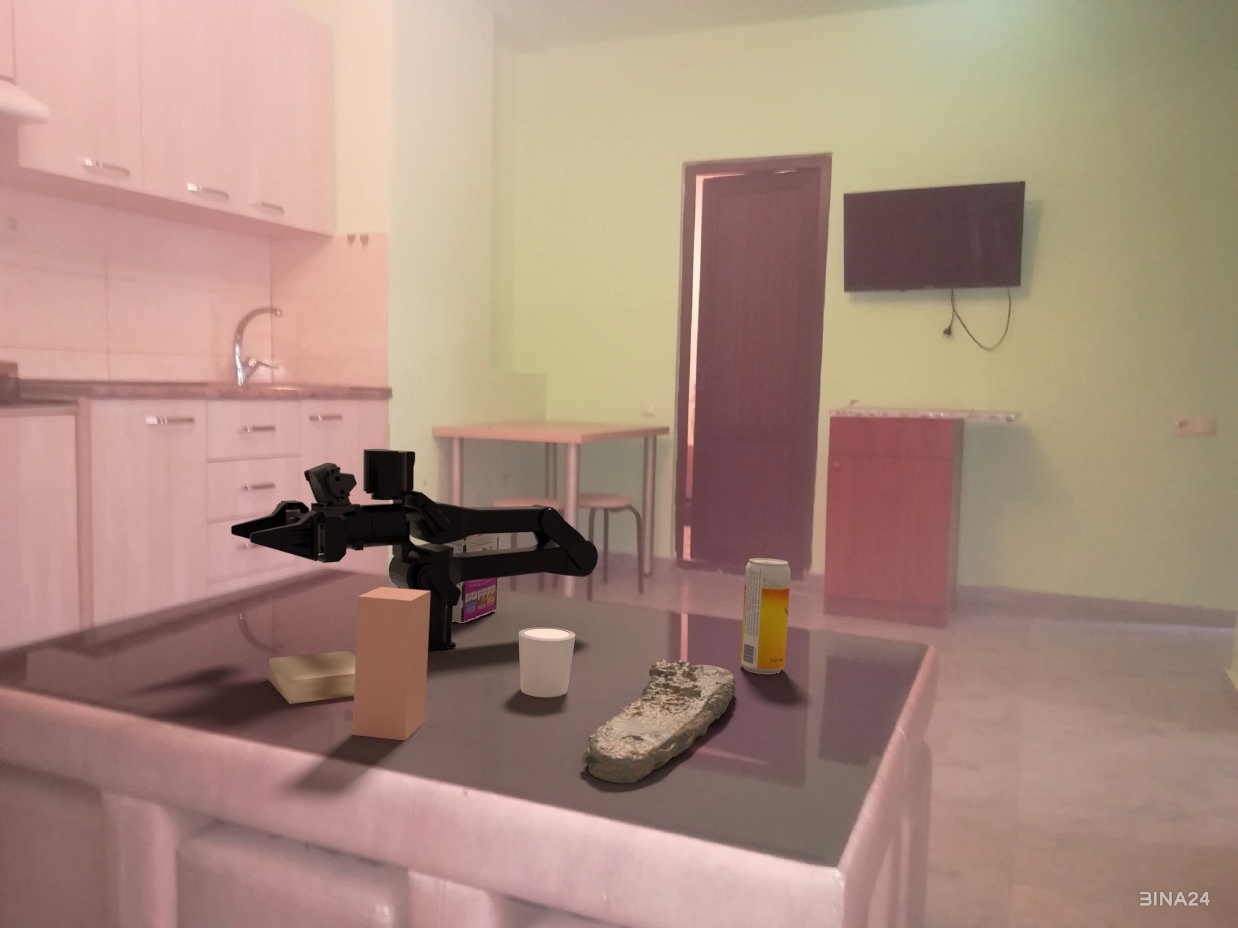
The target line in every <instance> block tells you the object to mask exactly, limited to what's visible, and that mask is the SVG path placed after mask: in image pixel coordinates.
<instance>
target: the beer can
mask: <svg viewBox="0 0 1238 928" xmlns="http://www.w3.org/2000/svg"><path fill="white" fill-rule="evenodd" d="M748 560H749V561H748V562H747V564H746V566H745V573H744V575H745V576H744V589H743V591H744V593H743V609H742V621H741V623H742V624H741V625H742V626H741V637H740V638H741V643H740V656H739V657H740V658H739V662H740V664H741V665H742V666H743V669H744V670H745V671H747V672H750V673H753V674H758V675H777V674H779V673H781V670H782V669H783V668H784V667H786V651H787V635H788V622H789V621H788V618H789V605H790V604H789V602H790V588H791V572H792V571H791V568H790V565H789V562H788V561H786V560H783V559H777V558H770V557H769V558H767V557H766V558H765V557H753V558H749V559H748ZM776 673H777V674H776Z"/></svg>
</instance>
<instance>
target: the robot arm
mask: <svg viewBox="0 0 1238 928" xmlns="http://www.w3.org/2000/svg"><path fill="white" fill-rule="evenodd" d="M362 461H363V467H362V469H363V472H362V473H363V474H362V477H363V480H362V481H363V482H362V483H363V484H362V485H363V487H362V489H363V490H362V491H363V492H365V494H367V495H368V494H370V500H373V501H392V503H376V504H375V503H374V504H373V503H372V504H360V503H352V502H351V500H350V498H349V497H351V491H353V490H354V489H355V487H356V486H357V484H358V483H357V481H356V480H357V479H356V477H355V475H354V473H348V472H347V473H346V472H341V470H342V468H341V466H338V465H337V464H336V463H334V462H325V463H322V464H320V465H317V466H313V467H311V468H309V469H307V470H306V469H305V470H304V472H303V476H304V478H305V481H306V482H308V484H309V487H310V489H311V493H312V495H313V497H314V500H315V501H316V502H311V503H310V508H309V506H307V505H306V503H304V502H303V501H299V500H295V499H294V500H290V499H289V500H281V501H280V502H279V503H277V504H276V506H275V508H274V510H273V511H272V512H271V513H270V514H267V515H264V516H262V517H258V518H255V519H251V520H247V521H243V522H239V523H236V524H234V525H231V527H230V533H231V535H233V536H237V537H240V538H243V539H247V540H249V542H250V543H251V544H256V545H259V546H262V547H266V548H268V549H272V550H276V551H279V552H283V553H286V554H290V555H292V556H296V557H300V558H302V559H307V560H310V561H313V562H320V563H323V564H329V563H340V561H341V560H342V559H343V558H344V557H345V556H346V555H347V550H351V551H355V552H357V551H364V548H376V547H377V548H378V547H387V546H388V547H389V546H391V548H392V550H391V553H392V556H393V557H392V558H391V560H390V562H389V564H388V565H389V566H388V569H387V570H388V571H387V572H388V576H389V578H390V581H391V583H392V584H394V586H396V588H400V589H413V590H425V591H431V592H430V614H429V637H428V651H432V650H441V649H443V650H444V649H450V648H451V649H452V648H456V647H457V643H456V642H454V641H453V640H452V635H453V623H452V617H453V606H456V605H457V603H458V601H459V598H460V595H461V590H460V589H459V588H458V587H457V586H456V585H457V584H459V583H461V582H465V581H473V580H482V579H491V578H497V579H499V578H508V577H515V576H524V575H533V574H542V573H544V574H545V573H547V574H554V575H560V576H565V577H567V576H568V577H577V578H578V577H579V578H585V577H589V576H590V575H592V574H593V571H594V570H595V568H596V566H597V564H598V559H599V555H598V549H597V547H596V545H595V544H594V543H593V541H591V540H588V539H586V538H585V536H583V535H582V534H581V533H580V532H579V531H578V530H577V529H576V528H575V527H573V526H572V525H571V524H570V523H568V522H567V520H565V518H563V515H561V514H560V513H559V512H558V510H557V509H556V508H555V507H552V506H547V505H542V504H536V503H535V504H532V505H527V506H526V505H525V506H524V505H522V506H520V505H519V506H517V505H516V506H515V505H514V506H513V505H512V506H476V507H474V506H467V507H466V506H462V505H457V504H450V503H447V502H441V501H440V502H439V501H435V500H432V498H430V497H429V496H427V495H426V494H425V493H423V492H422V491H417V490H415V489H414V478H415V473H414V471H415V470H414V468H415V465H416V452H415V451H414V450H413V451H412V450H392V449H387V448H367V449H363V460H362ZM495 533H499V534H514V533H517V534H518V533H533V536H534V539H535V541H536V544H535V545H532V546H531V545H530V546H520V547H511V548H500V549H499V548H498V549H497V550H487V551H476V552H465V553H454V554H453V551H454V547H450V546H447V545H444V544H446V543H451V542H455V541H459V540H462V539H464V538H467V537H469V536H472V535H476V534H495ZM411 537H412V538H414V539H416V540H420V541H422V542H425V543H423V544H415V543H413V542H412V540H411Z"/></svg>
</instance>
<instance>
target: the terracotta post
mask: <svg viewBox="0 0 1238 928" xmlns="http://www.w3.org/2000/svg"><path fill="white" fill-rule="evenodd" d="M430 592H431V591H425V590H413V589H400V588H398V587H389V586H387V587H385V586H384V587H383V586H379V587H378V588H375V589H372V590H370V591H367V592H366V593H363V594H360V595H358V597H357V618H356V619H357V621H356V622H357V623H356V643H355V652H356V664H355V688H354V696H353V715H352V716H353V717H352V719H353V720H352V736H359V737H362V736H363V737H368V738H369V737H370V738H379V739H390V740H398V741H400V740H401V741H406V740H407V739H408V738H409V737H410V736H412V735H413V734H414V733H415V732H416V731H417V730H418V729H419V728H420V727H421V726H422V725H424V724H425V723H426V722H425V721H426V703H427V702H426V701H427V700H426V699H427V698H426V697H427V682H428V681H427V677H428V675H427V674H428V654H429V653H428V652H429V650H428V637H429V614H430Z"/></svg>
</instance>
